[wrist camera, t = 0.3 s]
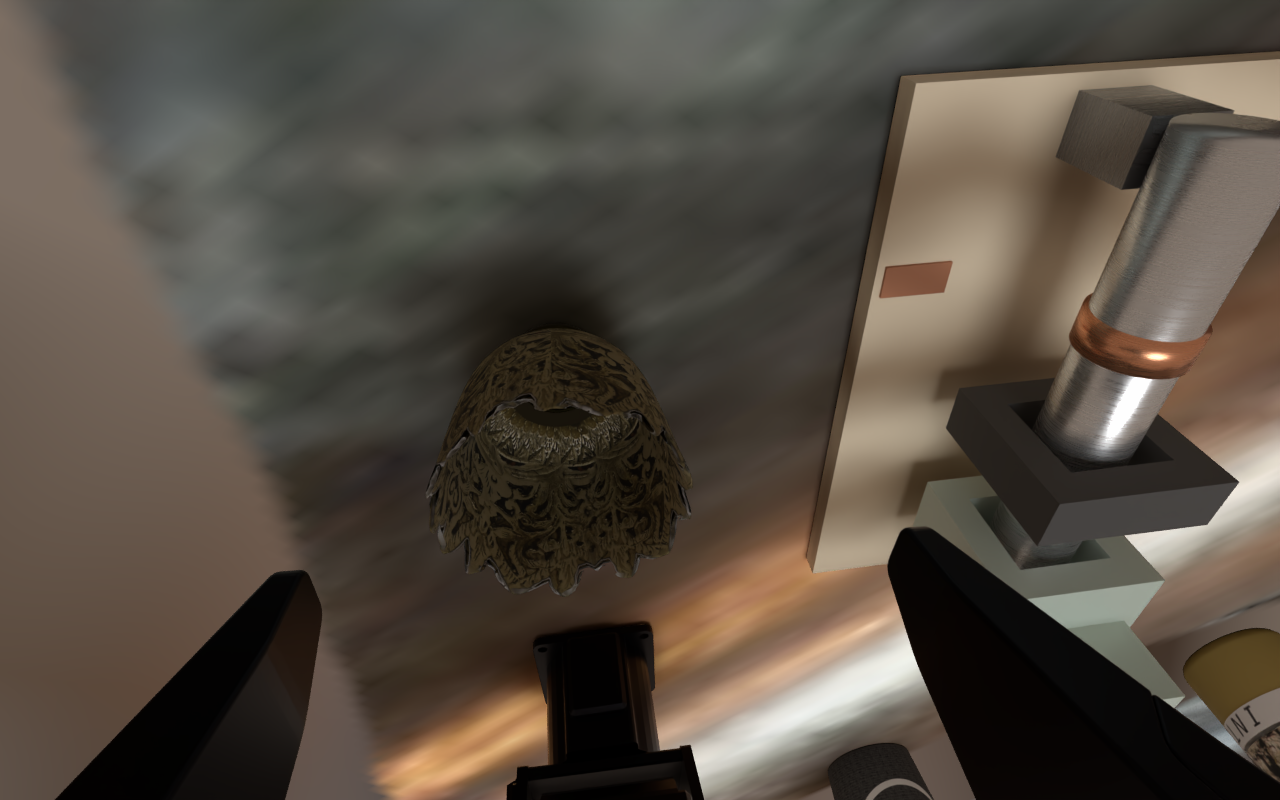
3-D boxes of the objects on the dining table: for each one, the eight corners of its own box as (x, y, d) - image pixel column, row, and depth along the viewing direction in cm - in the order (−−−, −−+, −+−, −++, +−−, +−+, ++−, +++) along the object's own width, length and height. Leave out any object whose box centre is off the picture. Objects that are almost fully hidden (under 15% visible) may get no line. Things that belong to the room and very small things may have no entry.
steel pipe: (967, 547, 34) (1039, 656, 29) (906, 555, 33) (969, 667, 28) (1165, 84, 20) (1366, 144, 15) (1065, 91, 20) (1236, 154, 15)
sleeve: (1028, 527, 31) (1176, 716, 24) (906, 543, 30) (1020, 741, 23) (1060, 466, 28) (1235, 656, 21) (927, 482, 28) (1061, 682, 21)
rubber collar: (1087, 412, 26) (1207, 524, 22) (945, 428, 26) (1037, 546, 21) (1107, 372, 25) (1239, 481, 20) (959, 387, 25) (1059, 504, 20)
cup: (629, 242, 22) (667, 380, 16) (670, 405, 27) (713, 562, 20) (419, 299, 22) (374, 456, 16) (495, 450, 27) (483, 619, 21)
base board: (1040, 527, 35) (1053, 544, 34) (806, 557, 34) (813, 575, 33) (1289, 50, 21) (1322, 57, 20) (901, 75, 20) (918, 84, 19)
